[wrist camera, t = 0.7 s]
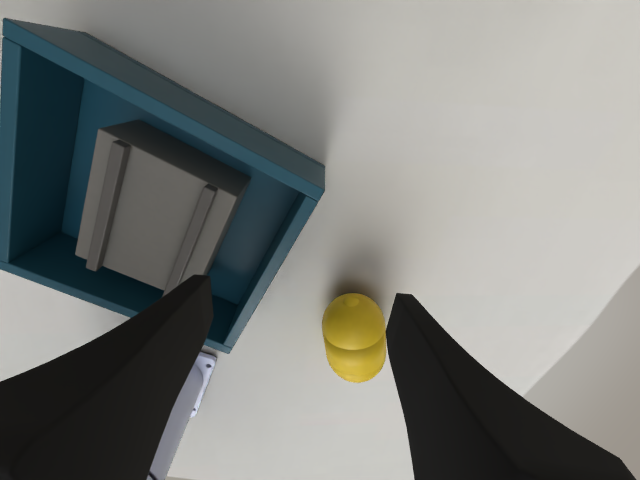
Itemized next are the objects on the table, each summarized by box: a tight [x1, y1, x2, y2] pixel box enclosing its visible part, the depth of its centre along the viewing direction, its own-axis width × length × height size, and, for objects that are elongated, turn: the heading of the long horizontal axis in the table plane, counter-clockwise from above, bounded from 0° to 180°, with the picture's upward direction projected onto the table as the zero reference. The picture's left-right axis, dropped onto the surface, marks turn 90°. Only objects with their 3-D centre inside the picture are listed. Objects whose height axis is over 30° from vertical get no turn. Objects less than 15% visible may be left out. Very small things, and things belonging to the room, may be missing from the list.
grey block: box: [75, 120, 251, 297], centre depth 18 cm, size 8×7×4 cm
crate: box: [0, 18, 325, 354], centre depth 18 cm, size 13×14×5 cm
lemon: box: [322, 293, 386, 382], centre depth 23 cm, size 8×5×5 cm, turn 7°
